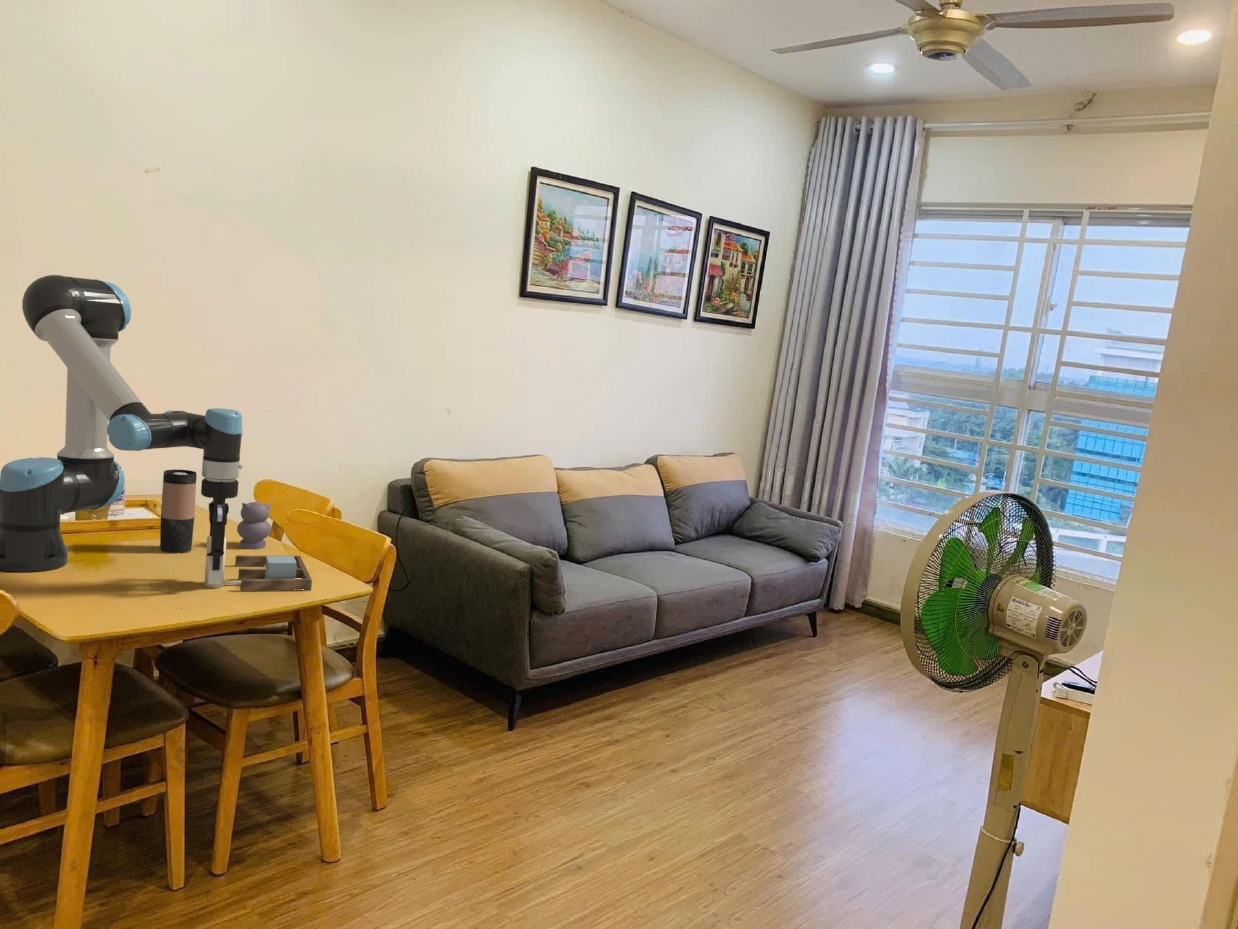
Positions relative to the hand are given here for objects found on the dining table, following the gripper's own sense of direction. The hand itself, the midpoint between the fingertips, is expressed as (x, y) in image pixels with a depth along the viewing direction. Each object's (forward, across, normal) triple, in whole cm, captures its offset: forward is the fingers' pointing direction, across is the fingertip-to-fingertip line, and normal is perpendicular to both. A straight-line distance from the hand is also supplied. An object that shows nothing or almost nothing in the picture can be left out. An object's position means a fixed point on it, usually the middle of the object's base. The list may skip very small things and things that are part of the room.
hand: (214, 580), depth 205 cm
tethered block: (+1, 0, -7) cm, 8 cm away
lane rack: (+1, +6, -13) cm, 14 cm away
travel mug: (+1, +32, +8) cm, 33 cm away
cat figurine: (+1, +36, -11) cm, 38 cm away
